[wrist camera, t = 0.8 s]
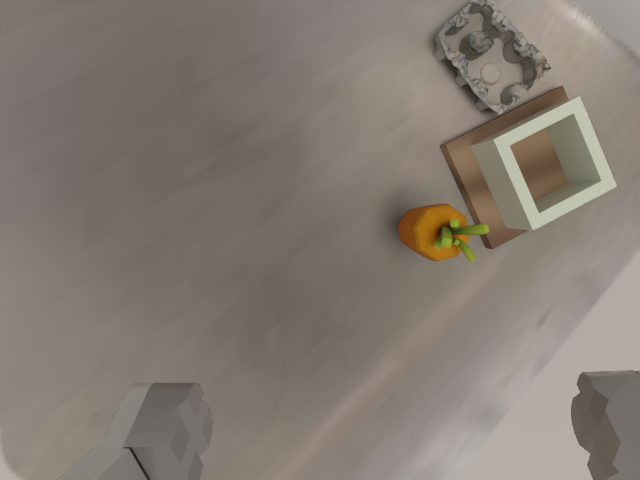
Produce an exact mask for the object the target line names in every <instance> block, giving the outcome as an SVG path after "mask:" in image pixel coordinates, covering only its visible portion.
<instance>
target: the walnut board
mask: <svg viewBox="0 0 640 480" xmlns="http://www.w3.org/2000/svg"><path fill="white" fill-rule="evenodd" d="M566 100H568V98H567V95H566V93H565V90H564V88H563V86H560V87H558V88H555V89H553V90H551V91H549V92H547V93H545V94H543V95H541V96H539V97H537V98H535V99H533V100H531V101H529V102H527V103H525V104H523V105H521V106H519V107H517V108H515V109H513V110H511V111H509V112H507V113H505V114H503V115H501V116H499V117H497V118H495V119H493V120H491V121H489V122H487V123H485V124H483V125H481V126H479V127H477V128H475V129H473V130H471V131H469V132H467V133H465V134H463V135H461V136H459V137H457V138H455V139H453V140H451V141H449V142H447V143H445V144H443V145H441V146H440V147H441V149H442V152H443V154H444V156H445V158H446V160H447V163H448V165H449V167H450V169H451V172H452V174H453V176H454V178H455V180H456V183H457V185H458V187H459V189H460V191H461V194H462V196H463V198H464V200H465V203H466V205H467V207H468V209H469V211H470V214H471V216H472V218H473V220H474V223H475V225H479V224H486V225H487V226H488V227H489V232H488V233H487V234H480V236H481V238H482V240H483V242H484V245H485V247H486V248H489V249H494V248H496V247H497V246H499V245H501V244H503V243H505V242H507V241H509V240H511V239H513V238H515V237H517V236H518V235H520V234H522V233H524V232H526V231H528V230H522V229H511V228H506V226H505V224H504V221H503V219H502V217H501V215H500V212H499V210H498V208H497V206H496V203H495V201H494V199H493V196H492V194H491V192H490V190H489V187H488V185H487V183H486V181H485V178H484V176H483V174H482V172H481V169H480V167H479V165H478V163H477V160H476V158H475V156H474V154H473V151H472V149H471V147H470V146H471V145H473V144H475V143H477V142H479V141H481V140H483V139H485V138H487V137H489V136H491V135H493V134H495V133H497V132H499V131H501V130H503V129H505V128H507V127H509V126H511V125H513V124H515V123H517V122H519V121H521V120H523V119H525V118H527V117H529V116H531V115H533V114H535V113H537V112H539V111H541V110H543V109H545V108H547V107H549V106H552V105H555V104H558V103H561V102H563V101H566ZM510 148H511V150H512V152H513V155H514V157H515V159H516V162H517V164H518V166H519V168H520V171H521V173H522V175H523V178H524V180H525V182H526V185H527V187H528V189H529V192H530V194H531V196H532V199H533V201H535V200H537V199H539V198H541V197H543V196H545V195H547V194H549V193H551V192H553V191H555V190H556V189H558V188H560V187H562V186H564V185H566V184H568V180H567V178H566V175H565V173H564V171H563V168H562V166H561V164H560V161H559V159H558V156H557V154H556V152H555V149H554V147H553V145H552V142H551V140H550V137H549V135H548V133H547V130H546V128H544V129H542V130H540V131H538V132H536V133H534V134H532V135H530V136H528V137H526V138H524V139H522V140H520V141H518V142H516V143H514V144H512V145H510Z"/></svg>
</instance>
